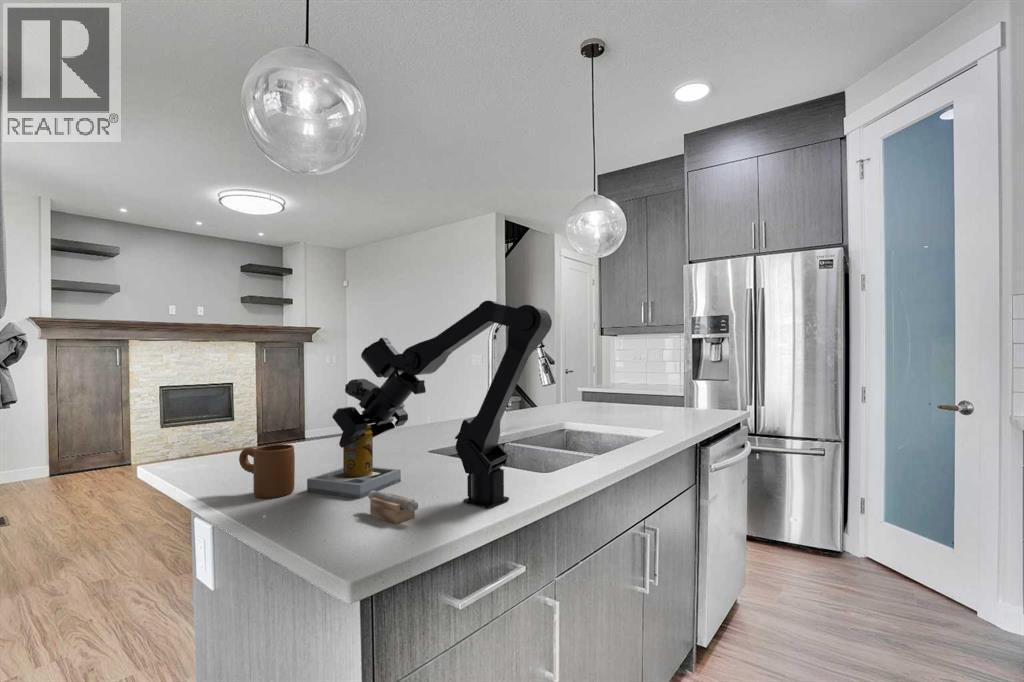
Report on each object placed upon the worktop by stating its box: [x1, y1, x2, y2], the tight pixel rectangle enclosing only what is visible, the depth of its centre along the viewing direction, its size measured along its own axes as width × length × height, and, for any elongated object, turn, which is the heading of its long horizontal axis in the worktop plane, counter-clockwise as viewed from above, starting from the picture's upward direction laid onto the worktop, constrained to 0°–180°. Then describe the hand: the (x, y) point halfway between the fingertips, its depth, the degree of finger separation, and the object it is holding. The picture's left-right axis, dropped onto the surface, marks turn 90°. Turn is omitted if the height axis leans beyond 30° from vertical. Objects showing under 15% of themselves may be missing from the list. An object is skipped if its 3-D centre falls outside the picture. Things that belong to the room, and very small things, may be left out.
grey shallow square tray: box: [306, 466, 402, 499], centre depth 105 cm, size 14×14×3 cm
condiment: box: [327, 425, 380, 481], centre depth 105 cm, size 7×8×12 cm
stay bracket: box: [367, 490, 419, 525], centre depth 85 cm, size 13×4×4 cm, turn 53°
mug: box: [238, 444, 296, 499], centre depth 101 cm, size 12×8×9 cm, turn 78°
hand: (351, 443), depth 106 cm, fingers closed on condiment, 6 cm apart
